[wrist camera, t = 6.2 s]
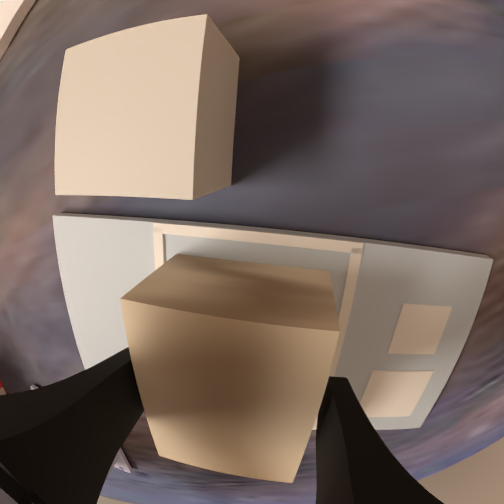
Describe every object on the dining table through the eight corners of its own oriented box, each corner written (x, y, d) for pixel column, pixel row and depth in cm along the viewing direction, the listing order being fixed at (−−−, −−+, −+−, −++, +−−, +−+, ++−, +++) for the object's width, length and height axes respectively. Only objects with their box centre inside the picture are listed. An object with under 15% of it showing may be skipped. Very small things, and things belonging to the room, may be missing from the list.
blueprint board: (91, 369, 16) (86, 375, 15) (60, 212, 12) (51, 215, 12) (417, 420, 13) (420, 428, 12) (486, 255, 9) (494, 260, 9)
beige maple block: (120, 181, 12) (55, 194, 8) (127, 70, 10) (65, 49, 6) (231, 185, 11) (192, 200, 7) (240, 58, 9) (206, 14, 5)
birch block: (187, 398, 14) (158, 455, 10) (176, 253, 11) (120, 298, 7) (299, 417, 13) (292, 482, 9) (329, 270, 10) (339, 331, 7)
